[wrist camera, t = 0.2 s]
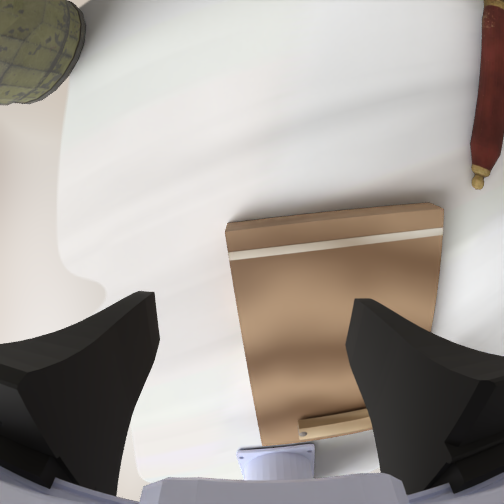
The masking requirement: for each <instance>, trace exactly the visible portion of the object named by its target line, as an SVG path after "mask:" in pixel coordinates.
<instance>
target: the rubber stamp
mask: <svg viewBox="0 0 504 504" xmlns="http://www.w3.org/2000/svg"><path fill="white" fill-rule="evenodd" d="M370 427H372V424H371V420H370V417H369V414H368V411H367V408H366V409H362V410H357V411H352V412H347V413H341V414H336V415H330V416H324V417H317V418H310V419H303V420H298V433H299V439H300V440H303V439H310V438H317V437H324V436H330V435H335V434H341V433H346V432H351V431H356V430H361V429H366V428H370Z"/></svg>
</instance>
